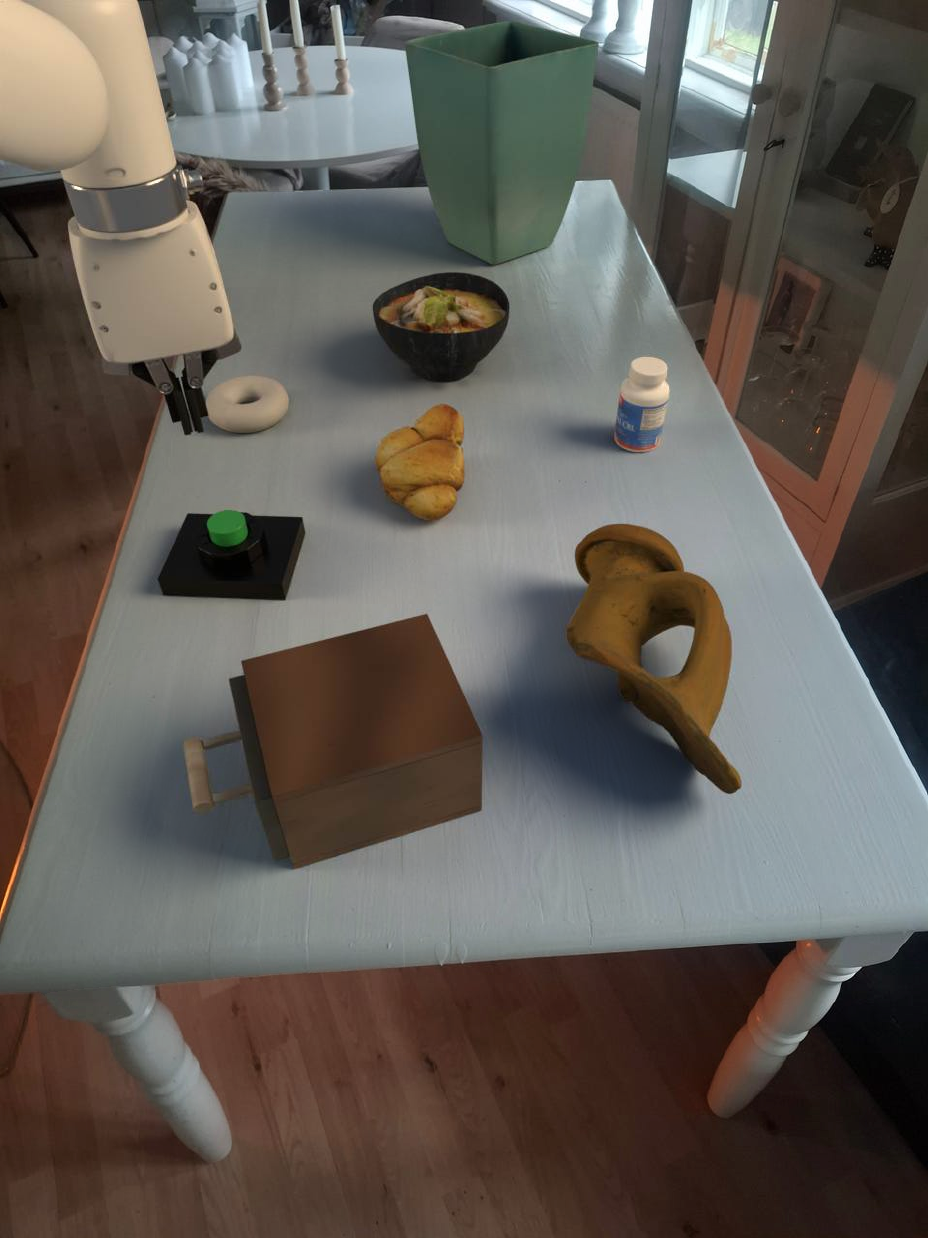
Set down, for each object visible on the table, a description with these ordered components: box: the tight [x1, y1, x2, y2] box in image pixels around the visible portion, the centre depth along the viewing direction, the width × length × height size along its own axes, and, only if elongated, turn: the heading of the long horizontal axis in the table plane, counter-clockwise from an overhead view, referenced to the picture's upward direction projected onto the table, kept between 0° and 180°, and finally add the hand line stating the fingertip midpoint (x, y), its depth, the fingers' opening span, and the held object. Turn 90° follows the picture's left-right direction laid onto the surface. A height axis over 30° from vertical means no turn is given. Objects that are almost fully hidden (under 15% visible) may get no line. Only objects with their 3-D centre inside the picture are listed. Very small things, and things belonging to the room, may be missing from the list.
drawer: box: [182, 674, 290, 862], centre depth 64 cm, size 18×11×8 cm, turn 109°
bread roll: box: [374, 403, 465, 521], centre depth 91 cm, size 13×10×8 cm
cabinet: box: [240, 613, 483, 870], centre depth 65 cm, size 15×13×10 cm
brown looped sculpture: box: [565, 523, 743, 795], centre depth 70 cm, size 18×13×22 cm
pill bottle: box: [613, 356, 670, 453], centre depth 97 cm, size 6×5×10 cm
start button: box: [207, 509, 248, 547], centre depth 83 cm, size 4×4×2 cm
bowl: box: [372, 271, 511, 383], centre depth 110 cm, size 17×17×10 cm
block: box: [156, 511, 306, 601], centre depth 85 cm, size 12×10×4 cm
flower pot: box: [404, 20, 600, 266], centre depth 131 cm, size 20×20×28 cm
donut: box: [205, 374, 290, 434], centre depth 104 cm, size 10×4×10 cm
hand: (192, 424), depth 73 cm, fingers closed
